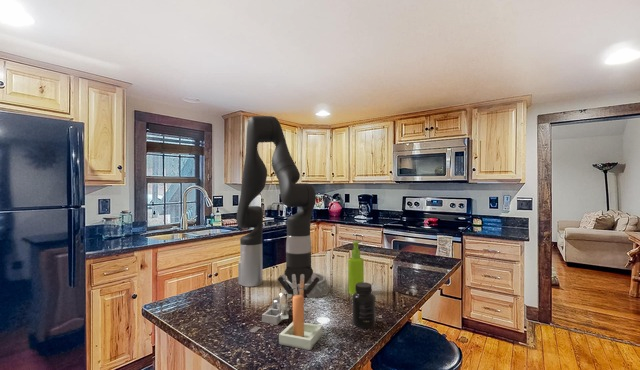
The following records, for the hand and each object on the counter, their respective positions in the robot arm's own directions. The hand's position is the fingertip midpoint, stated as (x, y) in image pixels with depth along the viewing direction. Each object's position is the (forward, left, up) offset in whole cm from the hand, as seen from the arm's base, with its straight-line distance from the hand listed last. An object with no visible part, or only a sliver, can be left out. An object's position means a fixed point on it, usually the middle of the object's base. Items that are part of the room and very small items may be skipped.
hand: (299, 307), depth 93 cm
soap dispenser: (+9, +35, -6) cm, 36 cm away
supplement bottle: (+18, +8, -6) cm, 20 cm away
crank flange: (-11, +2, -5) cm, 12 cm away
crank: (-8, +3, -4) cm, 9 cm away
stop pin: (+3, -7, -5) cm, 9 cm away
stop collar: (-9, +1, -5) cm, 11 cm away
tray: (+4, -7, -5) cm, 10 cm away
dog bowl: (-11, +30, -6) cm, 32 cm away
